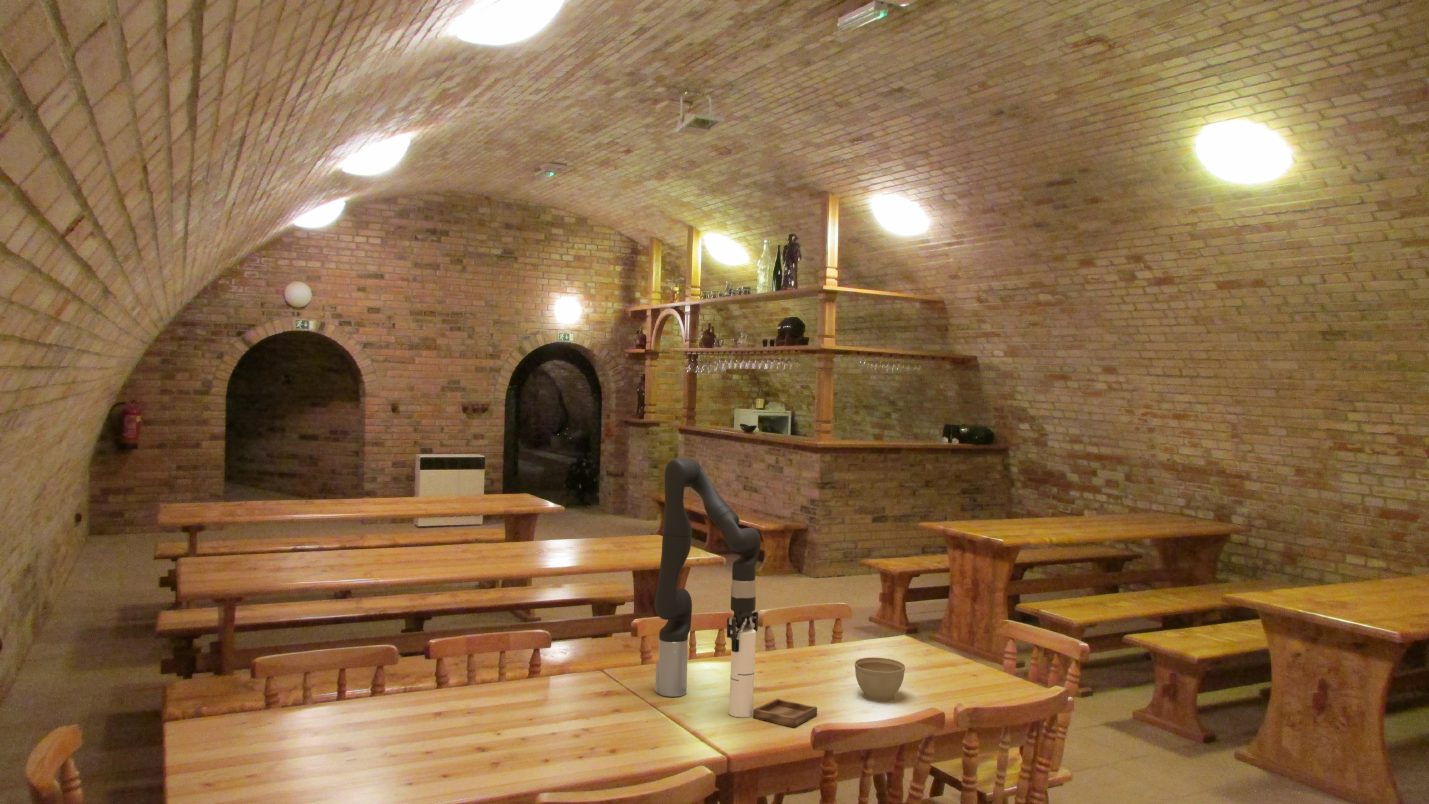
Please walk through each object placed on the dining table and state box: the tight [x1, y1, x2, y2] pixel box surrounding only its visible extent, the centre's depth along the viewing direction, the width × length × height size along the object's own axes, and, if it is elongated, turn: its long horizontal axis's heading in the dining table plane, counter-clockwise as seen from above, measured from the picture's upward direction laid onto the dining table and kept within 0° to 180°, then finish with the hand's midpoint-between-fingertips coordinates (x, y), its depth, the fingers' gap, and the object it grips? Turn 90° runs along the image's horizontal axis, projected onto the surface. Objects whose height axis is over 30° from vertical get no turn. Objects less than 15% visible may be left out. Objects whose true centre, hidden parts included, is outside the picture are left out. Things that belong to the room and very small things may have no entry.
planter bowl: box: [854, 656, 906, 702], centre depth 312 cm, size 16×16×11 cm
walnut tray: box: [752, 698, 818, 728], centre depth 290 cm, size 14×14×2 cm
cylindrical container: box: [728, 628, 757, 718], centre depth 292 cm, size 7×7×25 cm
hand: (742, 649), depth 292 cm, fingers closed on cylindrical container, 7 cm apart
